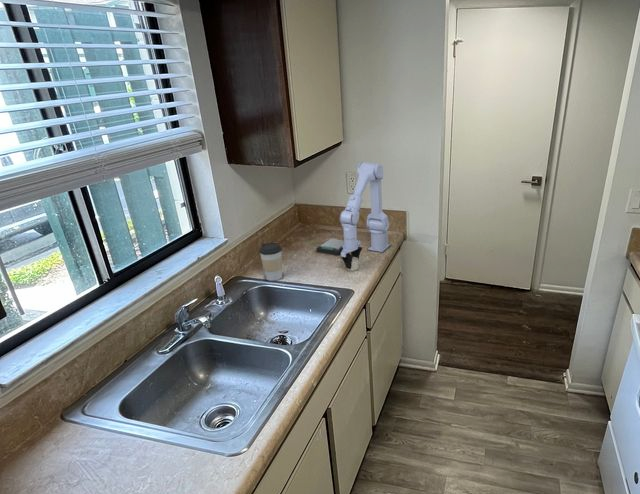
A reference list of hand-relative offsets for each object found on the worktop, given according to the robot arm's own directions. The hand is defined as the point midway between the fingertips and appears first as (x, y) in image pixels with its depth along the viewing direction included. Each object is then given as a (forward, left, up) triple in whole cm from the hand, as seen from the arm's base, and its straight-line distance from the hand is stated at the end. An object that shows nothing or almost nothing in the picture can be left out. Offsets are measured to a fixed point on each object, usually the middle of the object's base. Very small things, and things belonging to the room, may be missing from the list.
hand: (352, 265), depth 194 cm
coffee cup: (+20, -27, -2) cm, 34 cm away
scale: (-16, -19, -1) cm, 25 cm away
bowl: (0, 0, -1) cm, 1 cm away
